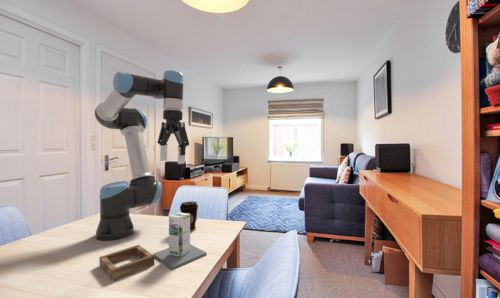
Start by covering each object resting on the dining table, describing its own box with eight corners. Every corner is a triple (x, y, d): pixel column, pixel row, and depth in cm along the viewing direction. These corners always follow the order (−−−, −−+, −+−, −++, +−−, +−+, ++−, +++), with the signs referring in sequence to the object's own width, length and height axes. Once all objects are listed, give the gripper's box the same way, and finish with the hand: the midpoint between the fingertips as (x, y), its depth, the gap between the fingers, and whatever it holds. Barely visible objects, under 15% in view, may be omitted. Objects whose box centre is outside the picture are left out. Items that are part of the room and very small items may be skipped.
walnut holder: (99, 265, 81) (99, 257, 80) (138, 252, 90) (138, 244, 90) (112, 280, 72) (112, 271, 72) (154, 264, 81) (154, 255, 81)
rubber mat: (152, 255, 88) (152, 253, 88) (185, 243, 98) (185, 241, 98) (172, 269, 78) (172, 267, 78) (206, 254, 88) (206, 252, 88)
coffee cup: (193, 233, 109) (192, 205, 109) (176, 232, 111) (176, 204, 110) (200, 226, 118) (200, 200, 117) (185, 225, 119) (185, 200, 119)
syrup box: (168, 254, 87) (167, 215, 86) (178, 248, 92) (178, 211, 92) (180, 257, 84) (180, 217, 84) (190, 250, 90) (190, 212, 90)
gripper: (199, 109, 91) (197, 164, 92) (165, 112, 107) (165, 159, 108) (182, 107, 85) (180, 165, 86) (149, 110, 102) (149, 159, 103)
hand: (172, 162), depth 97 cm, fingers open, 13 cm apart
